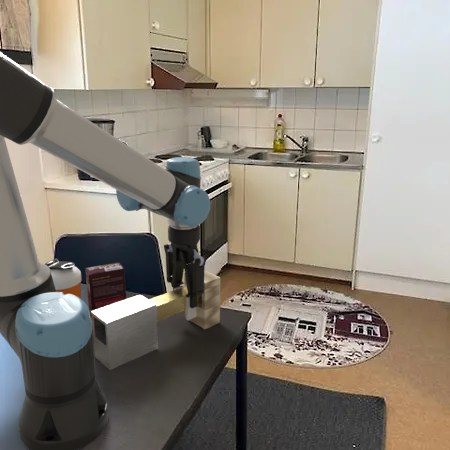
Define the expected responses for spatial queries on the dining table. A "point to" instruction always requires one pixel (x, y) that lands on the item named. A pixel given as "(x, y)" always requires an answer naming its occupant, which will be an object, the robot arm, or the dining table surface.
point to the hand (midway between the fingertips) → (185, 314)
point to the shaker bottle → (65, 277)
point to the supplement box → (105, 285)
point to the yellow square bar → (172, 303)
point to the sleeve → (124, 331)
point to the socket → (208, 302)
